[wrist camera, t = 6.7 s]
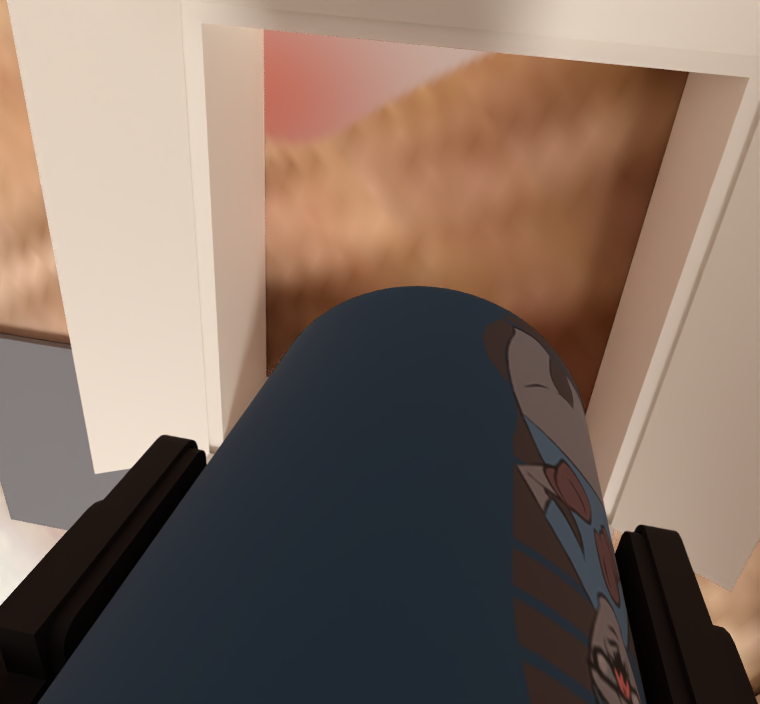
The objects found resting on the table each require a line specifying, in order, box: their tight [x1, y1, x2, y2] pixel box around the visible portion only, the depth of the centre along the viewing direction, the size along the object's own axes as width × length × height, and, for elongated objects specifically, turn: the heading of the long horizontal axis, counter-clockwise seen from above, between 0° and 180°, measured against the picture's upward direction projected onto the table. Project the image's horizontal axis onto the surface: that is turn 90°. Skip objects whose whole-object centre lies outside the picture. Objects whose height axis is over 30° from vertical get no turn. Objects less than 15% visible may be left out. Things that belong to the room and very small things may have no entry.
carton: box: [7, 0, 760, 592], centre depth 20 cm, size 22×22×7 cm
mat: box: [0, 333, 131, 530], centre depth 31 cm, size 12×12×1 cm
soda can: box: [38, 286, 647, 704], centre depth 9 cm, size 7×7×12 cm
